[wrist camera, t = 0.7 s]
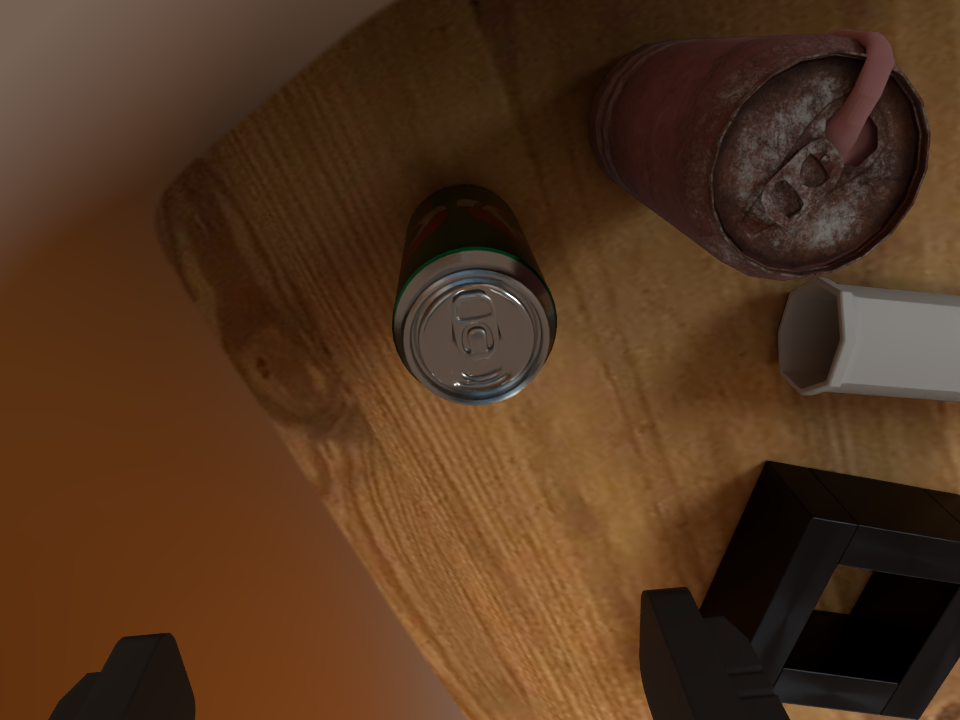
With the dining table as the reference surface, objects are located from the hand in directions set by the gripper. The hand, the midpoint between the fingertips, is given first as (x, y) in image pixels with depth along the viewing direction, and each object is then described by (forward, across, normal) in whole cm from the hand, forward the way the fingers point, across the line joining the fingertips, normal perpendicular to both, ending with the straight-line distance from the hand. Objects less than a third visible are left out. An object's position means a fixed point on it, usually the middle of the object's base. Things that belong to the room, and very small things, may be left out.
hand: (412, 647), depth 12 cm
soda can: (+22, -2, -1) cm, 22 cm away
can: (+22, -10, -6) cm, 25 cm away
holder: (+22, -20, +19) cm, 36 cm away
